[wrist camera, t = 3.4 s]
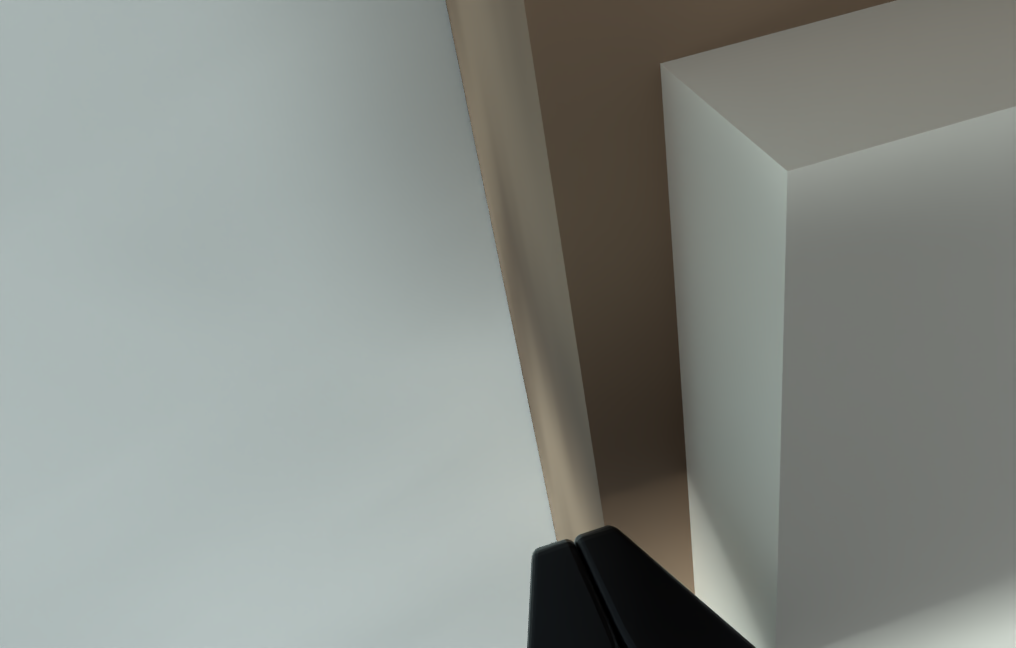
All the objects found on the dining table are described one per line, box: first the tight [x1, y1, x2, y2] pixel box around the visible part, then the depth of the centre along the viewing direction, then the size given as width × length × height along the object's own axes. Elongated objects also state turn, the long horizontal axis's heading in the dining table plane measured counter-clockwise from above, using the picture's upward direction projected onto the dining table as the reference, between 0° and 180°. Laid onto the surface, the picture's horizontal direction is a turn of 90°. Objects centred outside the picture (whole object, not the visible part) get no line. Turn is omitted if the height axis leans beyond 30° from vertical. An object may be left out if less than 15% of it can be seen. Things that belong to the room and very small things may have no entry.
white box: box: [660, 0, 1016, 648], centre depth 9 cm, size 9×6×2 cm, turn 10°
